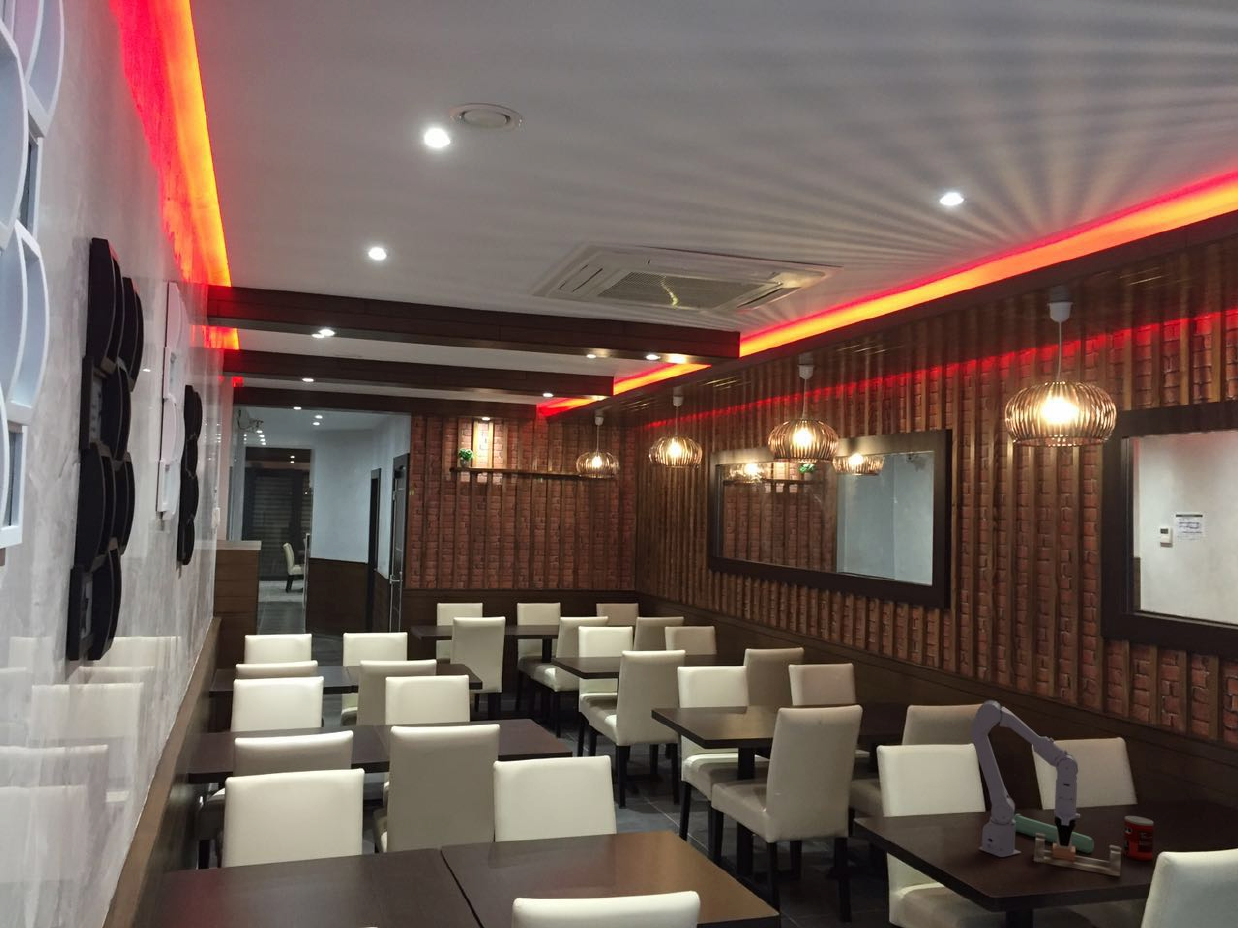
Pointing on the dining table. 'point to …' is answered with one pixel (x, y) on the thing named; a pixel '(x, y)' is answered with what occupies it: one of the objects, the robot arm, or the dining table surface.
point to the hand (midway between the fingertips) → (1064, 844)
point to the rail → (1079, 859)
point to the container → (1051, 833)
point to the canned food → (1138, 837)
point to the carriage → (1064, 850)
